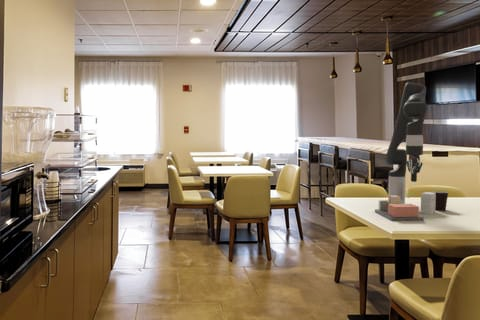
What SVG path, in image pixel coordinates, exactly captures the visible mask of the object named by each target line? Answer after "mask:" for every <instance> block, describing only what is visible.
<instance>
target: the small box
mask: <svg viewBox="0 0 480 320" xmlns="http://www.w3.org/2000/svg"><path fill="white" fill-rule="evenodd" d="M435 204H436V193H431V192H429V191H425V192H422V193H420V213H421V214H427V215H432V214H434V213H436V210H435Z"/></svg>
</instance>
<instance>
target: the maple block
mask: <svg viewBox="0 0 480 320" xmlns="http://www.w3.org/2000/svg"><path fill="white" fill-rule="evenodd" d="M387 200H388V204H400V196H397V195H389V196H388V197H387Z"/></svg>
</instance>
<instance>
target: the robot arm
mask: <svg viewBox="0 0 480 320" xmlns="http://www.w3.org/2000/svg"><path fill="white" fill-rule="evenodd" d="M426 95H427V87H426V85H424V84H421V83H416V82H406V83H405V85H404V87H403V92H402V95H401V100H400V101H401V102H400V104H399V105H400V106H399V110H398V114H397V117H396V120H395V125H394V127H393V128H394V129H393V133H392V137H391V140H390V143H389V146H388V148H387V151H386V153H385V162H386V163H387V164H388V165H391V166H394V165H396V166H397V167H395V168H394V169H392V170H390V171H389V172H388V196H389V195H397V196H400V200H402V204H406V174H407V171H408V172H409V173H410V182H412V183H416V182H417V180H418V179H417V178H418V174H419V173H420V172H421V169H422V167H423V162H421V159H420V158H421V157H420V156H423V155H424V137H423V135H424V134H423V133H424V123H425V118H426V115H427V113H428V104H427V103H426V102H425V101H424V100H425V98H426ZM414 118H418V119H417V120H416V121H415V120H414ZM404 141H405V149H403V148H399V147H400V145H401V144H402V143H403V142H404Z"/></svg>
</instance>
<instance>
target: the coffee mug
mask: <svg viewBox="0 0 480 320" xmlns="http://www.w3.org/2000/svg"><path fill="white" fill-rule="evenodd" d="M431 193H436V204H435V212H437V211H438V212H439V211H440V212H444V211H445V212H446V210H447V205H448V204H447V203H448V196H449V192H448V191H445V190H432V191H431Z"/></svg>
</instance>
